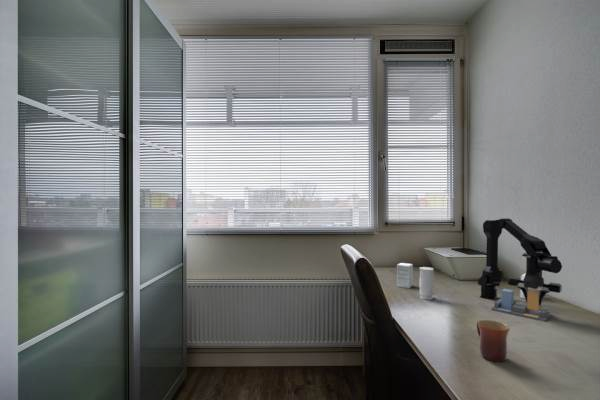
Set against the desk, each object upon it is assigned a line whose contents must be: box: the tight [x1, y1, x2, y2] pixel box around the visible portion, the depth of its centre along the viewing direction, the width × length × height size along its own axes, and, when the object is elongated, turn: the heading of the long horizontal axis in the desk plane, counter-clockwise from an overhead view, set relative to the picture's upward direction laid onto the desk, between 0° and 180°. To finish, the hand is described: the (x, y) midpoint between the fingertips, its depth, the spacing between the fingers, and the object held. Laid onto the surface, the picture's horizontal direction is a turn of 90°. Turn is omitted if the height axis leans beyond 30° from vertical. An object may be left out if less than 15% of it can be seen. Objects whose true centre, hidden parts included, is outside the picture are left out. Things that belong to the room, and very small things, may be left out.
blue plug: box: [500, 288, 515, 310], centre depth 153 cm, size 4×4×8 cm
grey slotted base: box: [490, 298, 551, 322], centre depth 150 cm, size 20×12×3 cm, turn 45°
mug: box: [476, 319, 510, 362], centre depth 108 cm, size 12×9×10 cm
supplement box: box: [396, 262, 414, 289], centre depth 194 cm, size 7×7×13 cm
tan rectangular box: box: [526, 289, 541, 311], centre depth 146 cm, size 4×4×8 cm
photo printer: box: [519, 272, 537, 300], centre depth 174 cm, size 10×4×12 cm, turn 123°
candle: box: [418, 266, 435, 301], centre depth 171 cm, size 7×7×15 cm
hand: (533, 304), depth 146 cm, fingers closed on tan rectangular box, 4 cm apart
